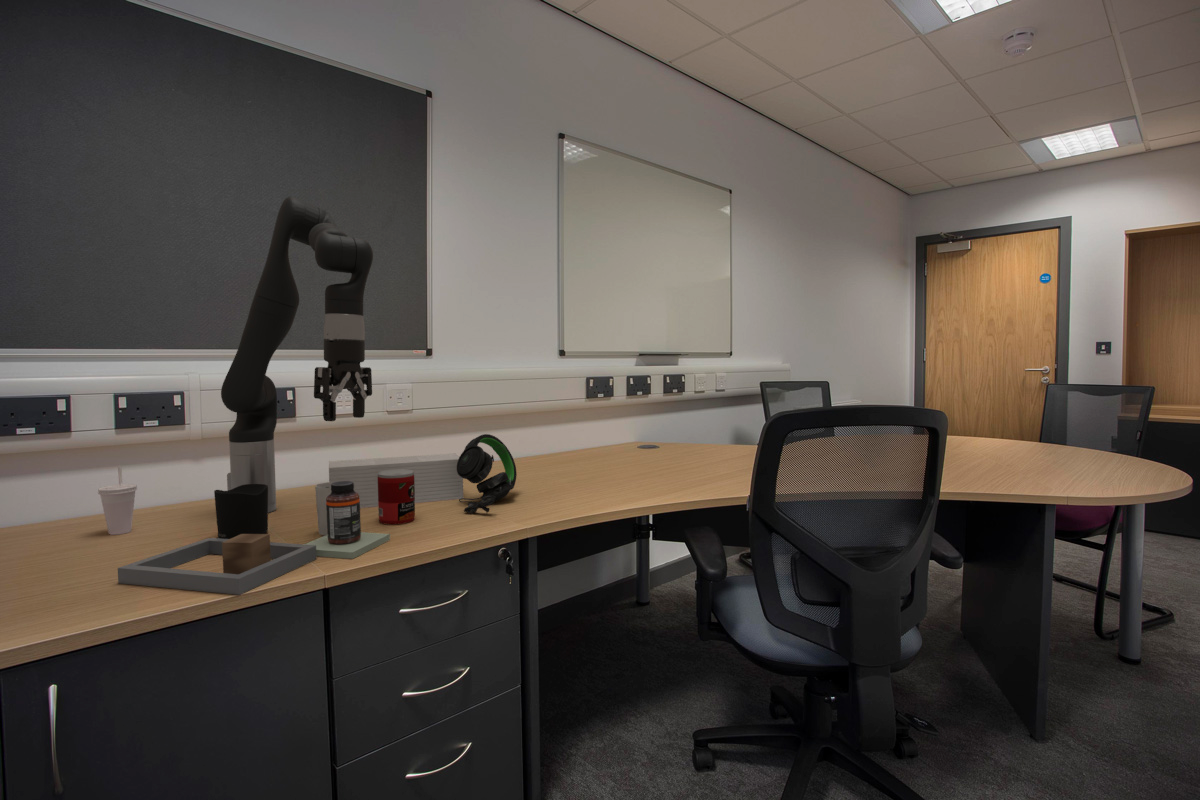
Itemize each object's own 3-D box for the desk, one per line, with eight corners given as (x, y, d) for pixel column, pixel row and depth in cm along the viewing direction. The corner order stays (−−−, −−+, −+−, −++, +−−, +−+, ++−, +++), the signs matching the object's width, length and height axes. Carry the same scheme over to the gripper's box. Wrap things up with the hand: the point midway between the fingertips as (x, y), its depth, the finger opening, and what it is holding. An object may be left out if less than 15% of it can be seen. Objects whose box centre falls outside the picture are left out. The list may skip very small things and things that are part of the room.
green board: (295, 554, 110) (295, 548, 110) (337, 536, 122) (337, 530, 122) (352, 558, 107) (352, 552, 107) (389, 539, 119) (389, 534, 119)
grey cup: (315, 537, 121) (313, 488, 120) (317, 529, 127) (316, 482, 127) (350, 534, 123) (349, 486, 123) (351, 526, 130) (350, 480, 129)
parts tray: (118, 583, 96) (117, 567, 96) (209, 550, 112) (209, 537, 112) (239, 594, 91) (238, 578, 90) (316, 558, 107) (316, 545, 107)
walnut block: (223, 578, 98) (222, 542, 98) (242, 567, 103) (241, 533, 103) (253, 578, 98) (251, 542, 98) (271, 568, 103) (269, 534, 102)
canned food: (404, 525, 130) (403, 475, 129) (371, 523, 131) (370, 474, 131) (421, 517, 137) (420, 469, 137) (390, 515, 139) (389, 468, 138)
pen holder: (221, 533, 124) (219, 486, 124) (272, 528, 128) (270, 482, 127) (211, 545, 116) (209, 495, 115) (266, 539, 119) (265, 490, 119)
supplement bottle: (334, 536, 117) (332, 479, 117) (365, 535, 118) (363, 479, 117) (322, 545, 111) (320, 486, 111) (355, 544, 112) (353, 485, 111)
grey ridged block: (456, 491, 166) (455, 453, 165) (463, 499, 156) (462, 458, 156) (330, 502, 153) (329, 461, 152) (330, 511, 143) (328, 467, 143)
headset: (474, 541, 145) (507, 473, 167) (512, 525, 139) (542, 457, 162) (430, 494, 139) (470, 430, 161) (468, 475, 134) (505, 412, 156)
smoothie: (145, 530, 127) (142, 465, 126) (110, 538, 121) (107, 470, 120) (128, 526, 129) (125, 463, 129) (93, 534, 124) (89, 467, 123)
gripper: (352, 339, 126) (352, 415, 127) (302, 336, 112) (302, 421, 113) (382, 340, 124) (382, 417, 125) (335, 336, 110) (336, 423, 111)
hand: (344, 419), depth 119 cm, fingers open, 8 cm apart
